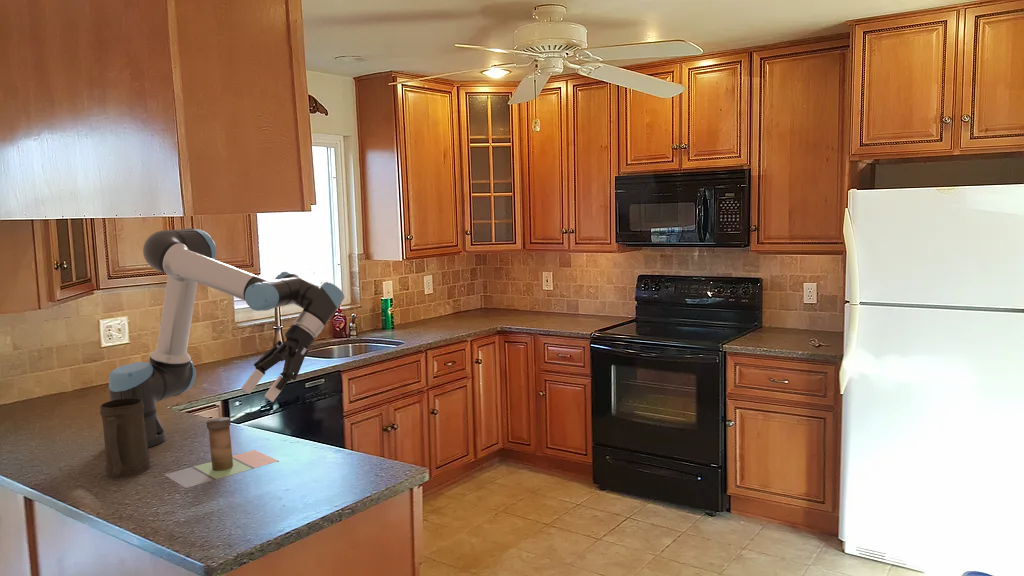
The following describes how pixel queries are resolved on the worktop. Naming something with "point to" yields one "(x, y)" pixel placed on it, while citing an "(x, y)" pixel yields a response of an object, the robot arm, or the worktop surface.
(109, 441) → the beer stein
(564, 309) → the worktop surface
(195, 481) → the gauge board
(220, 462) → the wooden dark-capped post
